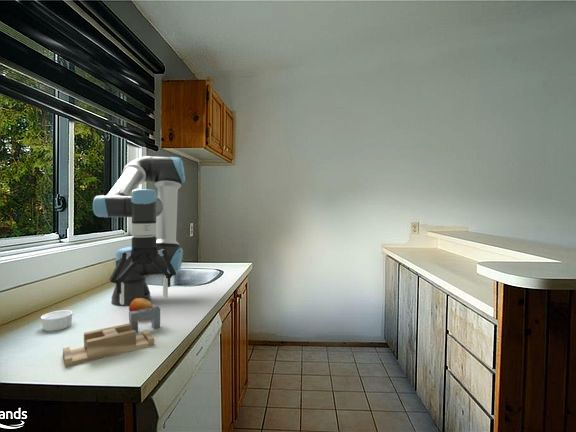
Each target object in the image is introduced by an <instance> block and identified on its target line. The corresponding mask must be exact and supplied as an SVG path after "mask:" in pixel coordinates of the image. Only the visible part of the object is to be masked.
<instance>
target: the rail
mask: <svg viewBox="0 0 576 432" xmlns="http://www.w3.org/2000/svg"><path fill="white" fill-rule="evenodd" d="M151 346H155V338H154V336H153V335H152V334H151V333H150V332H149V331H148V330H147V329H144V330H141V334H137V333H136V331H135V330H131V325H130V323H129V322H128V323H125V324H119V325H115V326H110V327H105V328H99V329H95V330H90V331H84V332H83V347H79V348H78V347H77V348H75V349H74V348H73V349H71V348H70V346H67V347H63V348H62V356H63V363H64V367H65V368H67V367H72V366H74V365H80V364H83V363H87V362H91V361H95V360H100V359H103V358H108V357H112V356H115V355H119V354H124V353H127V352H131V351H135V350H139V349H144V348H146V347H151Z"/></svg>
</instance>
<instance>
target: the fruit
mask: <svg viewBox="0 0 576 432" xmlns="http://www.w3.org/2000/svg"><path fill="white" fill-rule="evenodd" d="M152 307H154V306H153V305H152V302H151V301H149V300H147V299H144V298H136V299H134V300H133V301H132V302H131V304H130V305H129V308H128V310H129V312H130V311H135V310H141V309H146V308H152Z"/></svg>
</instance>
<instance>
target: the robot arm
mask: <svg viewBox="0 0 576 432" xmlns="http://www.w3.org/2000/svg"><path fill="white" fill-rule="evenodd" d="M145 182H149V183H150V182H153V183H154V186H155V187H156V188H157V191H156V190H154V189H150V188H148V189H145V188H144V189H143V188H140V189H139V187H140V185H141V184H143V183H145ZM185 182H186V174H185V167H184V163H183V160H182V158H180V157H178V156H152V155H145V156H141V157H138V158H136V159H133V160H131V161H130V162H129V163H127V164H126V165H125V166H124V167H123V170H122V175H121V176H120V177H119V179H118V180H117V181H116V182H115V184H114V185H113V187H112V188H111V189H110V191H109V192H108V193H107V194H106V195H104V194H102V195H96V196H94V198H93V201H92V211H93V214H94V216H96V217H97V218H131V236H133V237H132V238H131V246H126V247H123V248H119V249H118V250H117V251H116V252H115V260H114V261H115V268H114V270H113V272H112V274H111V275H110V277H109V282H111V284H115V286H114V289H113V292H112V295H111V304H113V305H116V306H130V304H131V302H132V301H133V300H134V299H136V298H144V299H147V300H148V301H149V300H150V299H151V292H150V288H149V286H148V283H147V277H149V276H150V277H152V276H163V277H162V297H164V298H168V297H169V295H168V294H169V291H168V290H169V288H170V287H171V279H172V277H174V276H176V275H178V273H180V270H181V267H182V263H183V257H184V255H183V254H184V249H183V248H182V247H180V243H179V242H178V241H177V226H178V225H177V222H178V196H179V195H178V193H179V191H178V190H179V189H180V188H181V187H182V184H183V183H185Z"/></svg>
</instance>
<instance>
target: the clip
mask: <svg viewBox="0 0 576 432" xmlns="http://www.w3.org/2000/svg"><path fill="white" fill-rule="evenodd" d="M128 317H129V318H128V320H129V322H128V323H130V325H131V330H135V331H136V334H137V333H139V321H142V320H147V319H148V320H149V319H151V323H150V324H151V328H153V330H155V329H156V330H157V329H160V328H161V307H159V306H153V307H152V308H146V309H141V310H135V311H129V312H128Z"/></svg>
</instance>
